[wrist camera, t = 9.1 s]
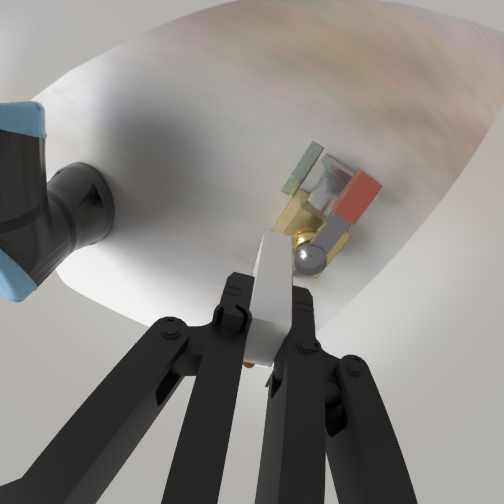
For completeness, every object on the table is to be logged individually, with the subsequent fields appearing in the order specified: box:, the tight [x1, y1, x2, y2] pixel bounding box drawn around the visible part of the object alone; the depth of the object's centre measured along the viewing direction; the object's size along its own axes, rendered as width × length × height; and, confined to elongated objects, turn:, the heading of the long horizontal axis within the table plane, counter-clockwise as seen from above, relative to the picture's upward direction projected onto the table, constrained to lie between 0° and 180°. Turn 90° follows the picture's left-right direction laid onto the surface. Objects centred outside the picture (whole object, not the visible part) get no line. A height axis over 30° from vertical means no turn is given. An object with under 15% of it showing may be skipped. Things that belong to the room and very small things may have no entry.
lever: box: [294, 168, 382, 275], centre depth 27 cm, size 13×4×2 cm, turn 152°
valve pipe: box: [273, 141, 355, 285], centre depth 34 cm, size 9×20×9 cm, turn 153°
